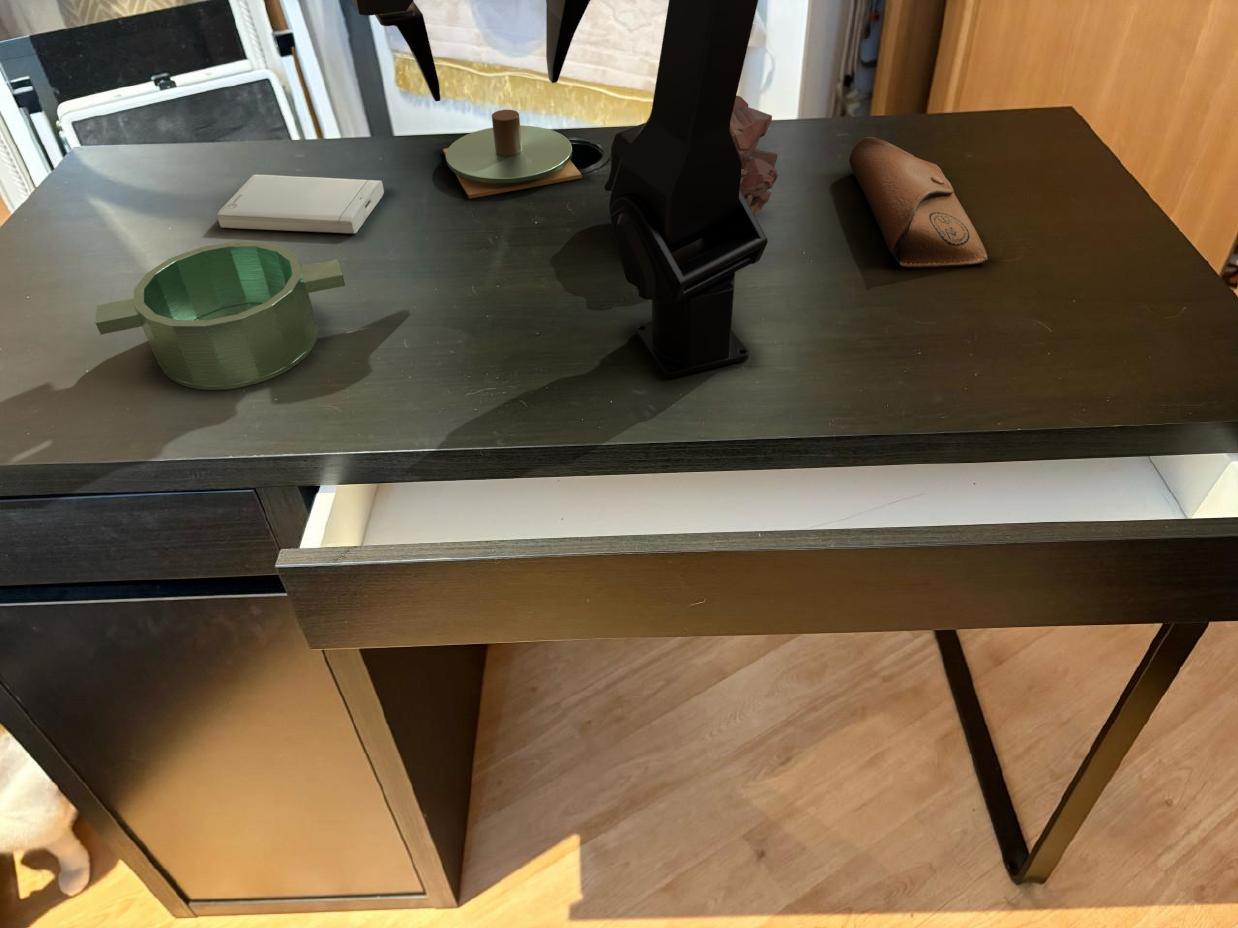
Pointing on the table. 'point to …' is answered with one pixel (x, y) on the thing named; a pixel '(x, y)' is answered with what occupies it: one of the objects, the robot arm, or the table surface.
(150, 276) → the green cooking pot
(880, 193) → the sunglasses case
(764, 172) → the mineral specimen
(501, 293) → the table surface
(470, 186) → the coaster pad
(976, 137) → the table surface
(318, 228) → the hard drive
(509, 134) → the tin lid
